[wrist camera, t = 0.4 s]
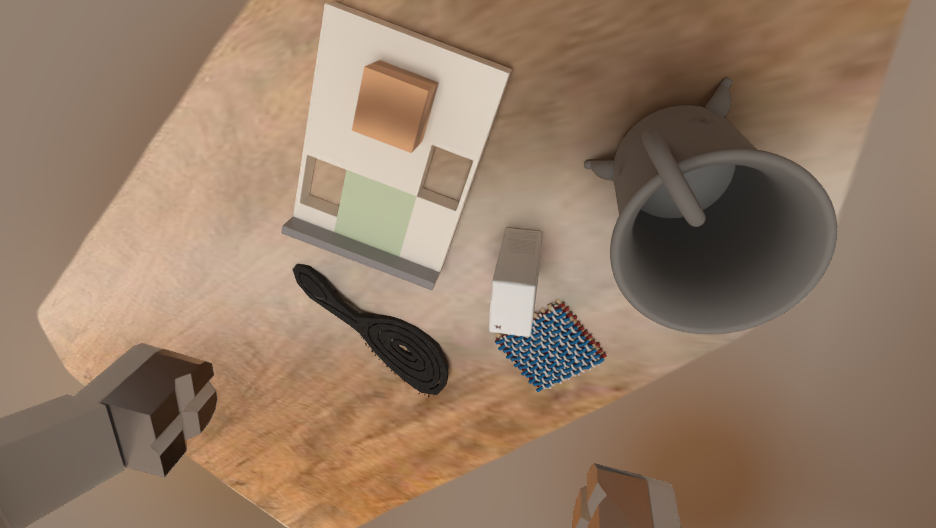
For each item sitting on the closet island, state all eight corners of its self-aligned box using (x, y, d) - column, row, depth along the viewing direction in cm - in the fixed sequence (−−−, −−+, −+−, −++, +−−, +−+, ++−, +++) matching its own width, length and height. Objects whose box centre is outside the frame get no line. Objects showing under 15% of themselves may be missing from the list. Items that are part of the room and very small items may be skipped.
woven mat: (610, 353, 63) (611, 363, 62) (540, 385, 68) (539, 396, 66) (561, 293, 60) (561, 303, 59) (492, 332, 65) (490, 341, 63)
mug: (784, 189, 49) (943, 353, 28) (643, 257, 56) (684, 434, 34) (698, 16, 44) (816, 56, 22) (551, 113, 50) (533, 218, 29)
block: (379, 59, 48) (364, 66, 45) (438, 82, 48) (428, 90, 45) (366, 119, 51) (351, 130, 48) (422, 141, 51) (411, 153, 48)
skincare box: (538, 276, 59) (530, 339, 49) (502, 271, 60) (487, 333, 50) (544, 229, 56) (536, 286, 46) (505, 225, 57) (490, 280, 47)
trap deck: (336, 2, 48) (312, 4, 44) (512, 69, 49) (506, 78, 44) (302, 215, 61) (281, 233, 57) (442, 268, 61) (432, 290, 57)
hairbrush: (300, 254, 61) (458, 381, 65) (315, 241, 64) (465, 362, 68) (271, 294, 65) (421, 411, 69) (286, 280, 68) (429, 393, 72)
